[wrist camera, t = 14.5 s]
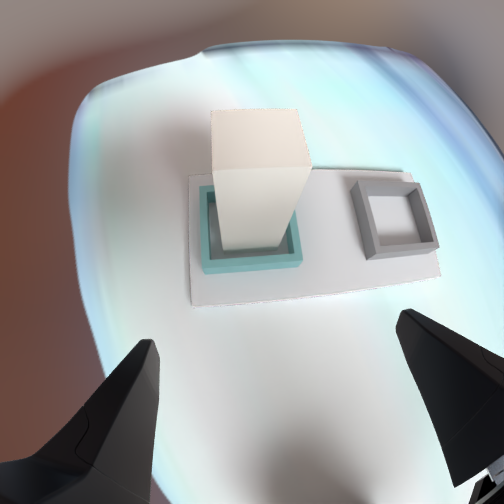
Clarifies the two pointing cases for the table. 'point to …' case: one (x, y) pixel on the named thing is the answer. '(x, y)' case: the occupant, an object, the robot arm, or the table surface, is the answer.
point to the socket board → (318, 241)
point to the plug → (257, 175)
